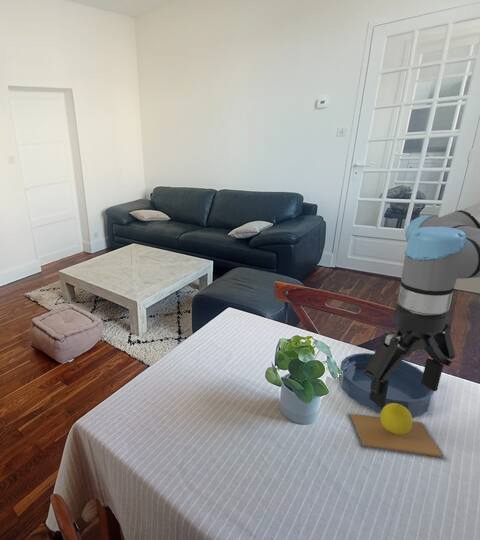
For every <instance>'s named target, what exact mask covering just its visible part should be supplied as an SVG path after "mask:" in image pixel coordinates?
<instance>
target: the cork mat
mask: <svg viewBox="0 0 480 540" xmlns="http://www.w3.org/2000/svg"><path fill="white" fill-rule="evenodd" d="M350 417H351V419H352V422H353V424H354V427H355V429H356V431H357V434H358V436H359V439H360V441H361V444H362V446H363V447H369V448H376V449H383V450H389V451H396V452H402V453H410V454H416V455H424V456H430V457H438V458H442V457H443V454H442V452H441V451H440V449H439V447H438V446H437V445H436V443H435V441H434V440H433V439H432V437H431V436H430V433H429V432H428V431H427V429H426V428H425V426H424V425H423V423H422V422H420V421H413V422H412V427H411V429H410V431H409V432H408V433H406V434H403V435H396V434H393V433H390V432H389V431H387V430H386V429H385V428H384V427H383V425H382V423H381V420H380V417H379V416H371V415H362V414H354V413H351V414H350Z"/></svg>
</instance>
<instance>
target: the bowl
mask: <svg viewBox="0 0 480 540" xmlns="http://www.w3.org/2000/svg"><path fill="white" fill-rule="evenodd" d="M373 355H374V353H372V352H371V353H370V352H369V353H368V352H359V353H354V354H351V355H348V356H346V357H345V358H343V359H342V360H341V361H340V367H339V368H340V369H341V370H342V371H343V374H342V375H340V374H339V376H338V383H339V386H340V388H341V390H342V391H343V392H344V393H345V394H346V395H347V396H348V397H349V398H350V399H351V400H353V401H355V402H356V403H358V404H359V405H361V406H363V407H365V408H368V409H369V410H372V411H374V412H378V413H381V411H382V409H383V408H384V407H382V408H381V407H380V406H378V405H377V404H376V403H374V402H373V401H372V400H370V393H371V389H370V386H371V379H370V378H368V377H367V376H365V375H364V374H363V372H364V370H365V369H366V367H367V365H368V364H369V362H370V360H371V358H372V357H373ZM340 369H339V370H340ZM423 373H424V371H422V370H421V369H420V368H418V367H417V366H416V365H413V364H411V363H409V362H408V361H405V360H402V361H401V362H400V364H399V365H398V366H397V367H396V368H395V370H394V371H393V372H392V373H391V374H390V375H389V377H388V378H387V379H386V380H388V381H389V384H388V389H387V395H386V400H385V406H386V405H387V404H390V403H397V404H400V405H403V406H404V407H406V408H407V409H408V410H409V412H410V413H411V416H412V417H417V416H421V415H422V414H425V413H427V412H428V411H429V409H430V408H431V406H432V403H433V400H434V396H435V392H436V391H433V390H431V389H429V388H428V387H426V386H424V385H423V384H421V382H422V378H423Z"/></svg>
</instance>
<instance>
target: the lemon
mask: <svg viewBox="0 0 480 540" xmlns="http://www.w3.org/2000/svg"><path fill="white" fill-rule="evenodd" d="M379 416H380V420H381V423H382V425H383V427H384V428H385V429H386V430H387V431H389V432H390V433H393V434H396V435H403V434H406V433H408V432H409V431H410V429H411V427H412V422H414V420H413V416H411V413H410V412H409V410H408V409H407V408H406V407H404V406H403V405H400V404H397V403H390V404H387V405H386V406H384V408H383V409H382V411H381V412H380V415H379Z"/></svg>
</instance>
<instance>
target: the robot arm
mask: <svg viewBox="0 0 480 540" xmlns="http://www.w3.org/2000/svg"><path fill="white" fill-rule="evenodd" d="M404 237H405V240H406V241H407V245H406V248H405V250H404V260H403V267H402V272H401V278H400V286H399V291H398V296H397V304H396V306H395V310H394V311H395V312H394V316H393V320H394V323H395V324H396V326H397V330H396V331H395V333H394V334H391V333H388V332H384V333H383V334H382V336H381V340H380V343H379V344H378V347H377V348H376V350H375V351H374V352H373V354H374V355H373V357H372V358H371V360H370V362H369V364H368V365H367V367H366V369H365V370H364V372H363V374H364V375H365V376H367V377H368V378H370V379H371V386H370V389H371V393H370V400H372V401H373V402H374V403H376V404H377V405H378V406H380V407H381V408H382V407H384V406H385V400H386V395H387V389H388V384H389V381H388V380H386V379H387V378H388V377H389V375H390V374H391V373H392V372H393V371H394V370H395V368H396V367H397V366H398V365H399V364H400V362H401V361H404V359H405V358H409V357H410V356H411V355H412V354H413V353H414V352H417V351H419V350H424V351H425V352H426V353H427V354H428V356H429V358H426V359H425V365H424V369H423V372H424V373H423V378H422V382H421V384H423V385H424V386H426V387H428V388H429V389H431V390H433V391H435V392H437V391H438V389H439V385H440V381H441V377H442V374H443V368H444V366H446V367H450V366H451V365H452V363H453V362H452V360H454V359H455V358H456V353H455V349H454V345H453V342H452V338H451V327H452V325H451V324H449V323H447V319H448V312H449V310H450V307H451V302H452V299H453V298H452V297H453V294H454V293H453V292H454V289H455V286H456V283H457V280H460V279H463V280H464V279H474V278H480V201H477V202H475V203H473V204H472V203H471V204H470V205H467V206H465V207H463V208H460V209H457V210H454V211H453V212H450V213H447V214H444V215H441V216H438V215H420V216H417V217H416V218H414V219H413V220H412V221H410V222H409V224H408V225H407V226H406V229H405V231H404ZM400 347H401V348H400ZM403 349H404V350H403Z"/></svg>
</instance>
